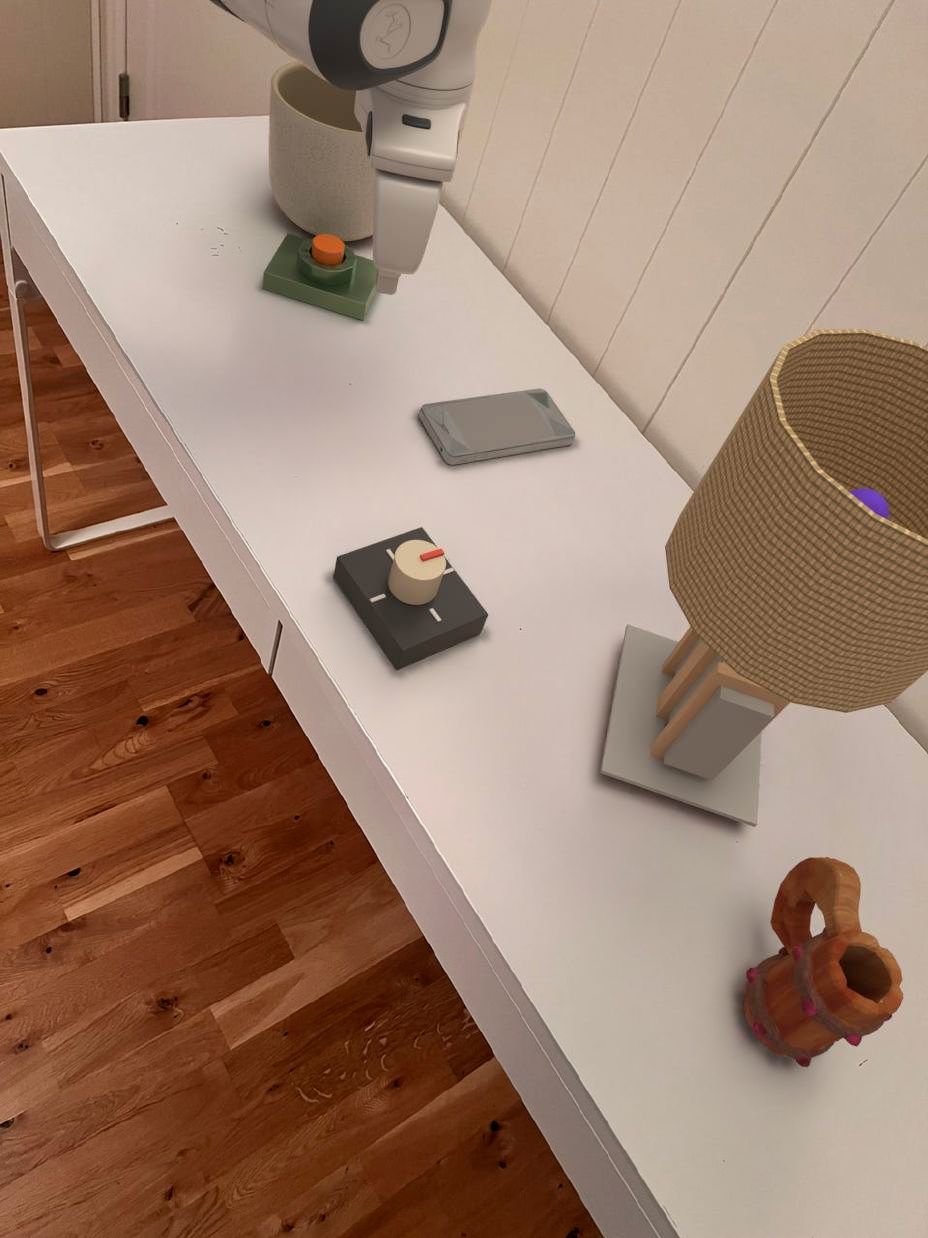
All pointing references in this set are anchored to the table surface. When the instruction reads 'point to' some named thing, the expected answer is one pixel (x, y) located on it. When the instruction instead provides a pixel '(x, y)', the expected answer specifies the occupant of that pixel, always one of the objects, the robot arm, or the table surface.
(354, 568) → the panel
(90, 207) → the table surface
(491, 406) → the phone
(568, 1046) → the table surface
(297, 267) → the push button box
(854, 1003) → the mug
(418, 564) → the dial
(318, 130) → the planter
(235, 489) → the table surface
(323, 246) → the switch
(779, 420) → the desk lamp
